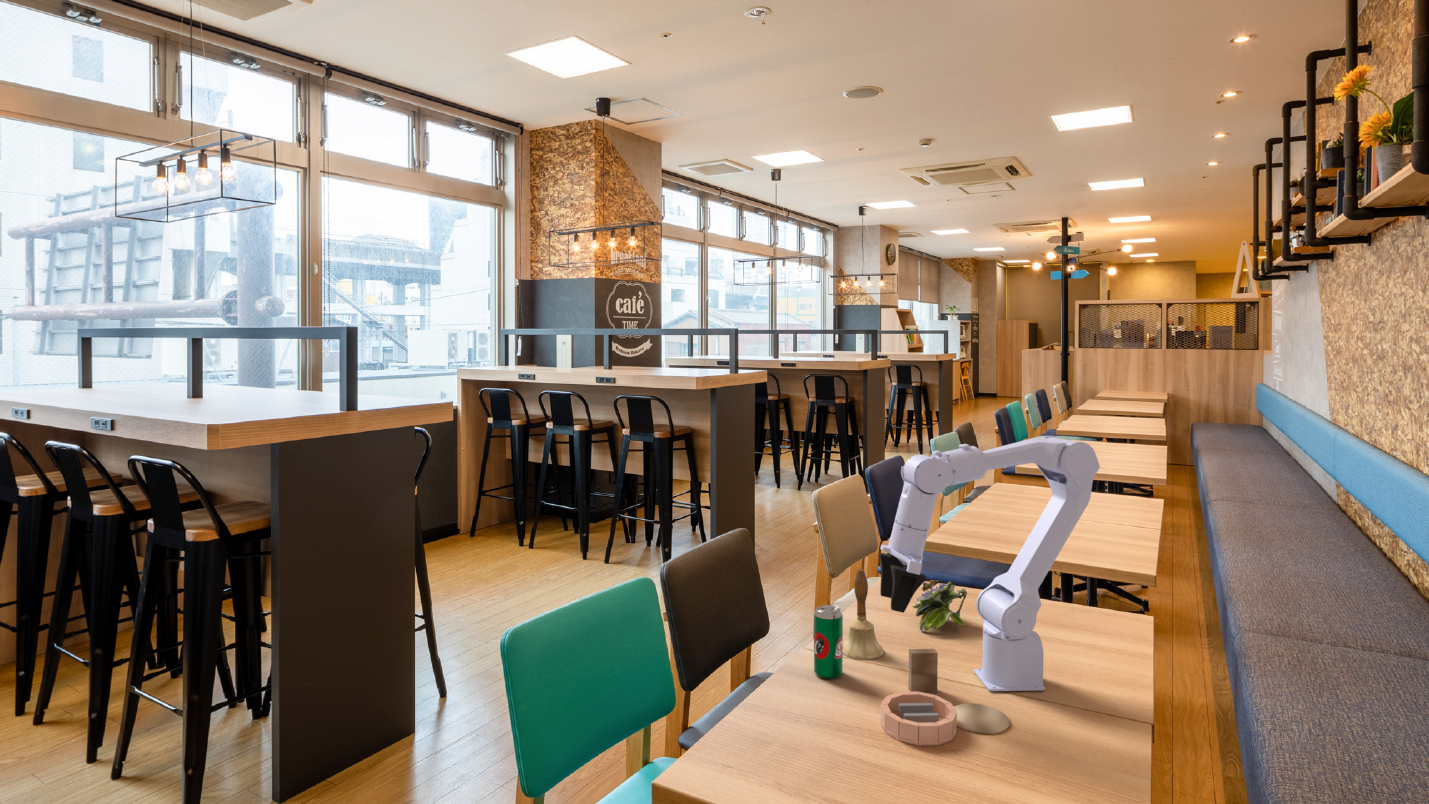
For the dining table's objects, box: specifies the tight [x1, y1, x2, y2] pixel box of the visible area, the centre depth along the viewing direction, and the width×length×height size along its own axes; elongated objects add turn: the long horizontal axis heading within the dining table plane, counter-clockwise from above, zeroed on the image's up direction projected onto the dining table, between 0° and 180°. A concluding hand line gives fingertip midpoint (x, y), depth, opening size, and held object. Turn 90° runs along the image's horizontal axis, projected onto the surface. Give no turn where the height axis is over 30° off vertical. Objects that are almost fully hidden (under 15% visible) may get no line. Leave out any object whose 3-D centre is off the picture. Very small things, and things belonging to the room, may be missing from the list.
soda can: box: [813, 604, 844, 680], centre depth 136 cm, size 5×5×12 cm
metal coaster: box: [953, 702, 1010, 735], centre depth 120 cm, size 9×9×1 cm
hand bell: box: [843, 568, 885, 661], centre depth 146 cm, size 8×8×16 cm
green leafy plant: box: [912, 579, 968, 633], centre depth 158 cm, size 11×11×12 cm
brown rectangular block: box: [908, 648, 939, 694], centre depth 130 cm, size 4×2×7 cm, turn 90°
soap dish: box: [880, 691, 958, 747], centre depth 118 cm, size 11×11×3 cm
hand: (891, 603), depth 129 cm, fingers open, 7 cm apart
